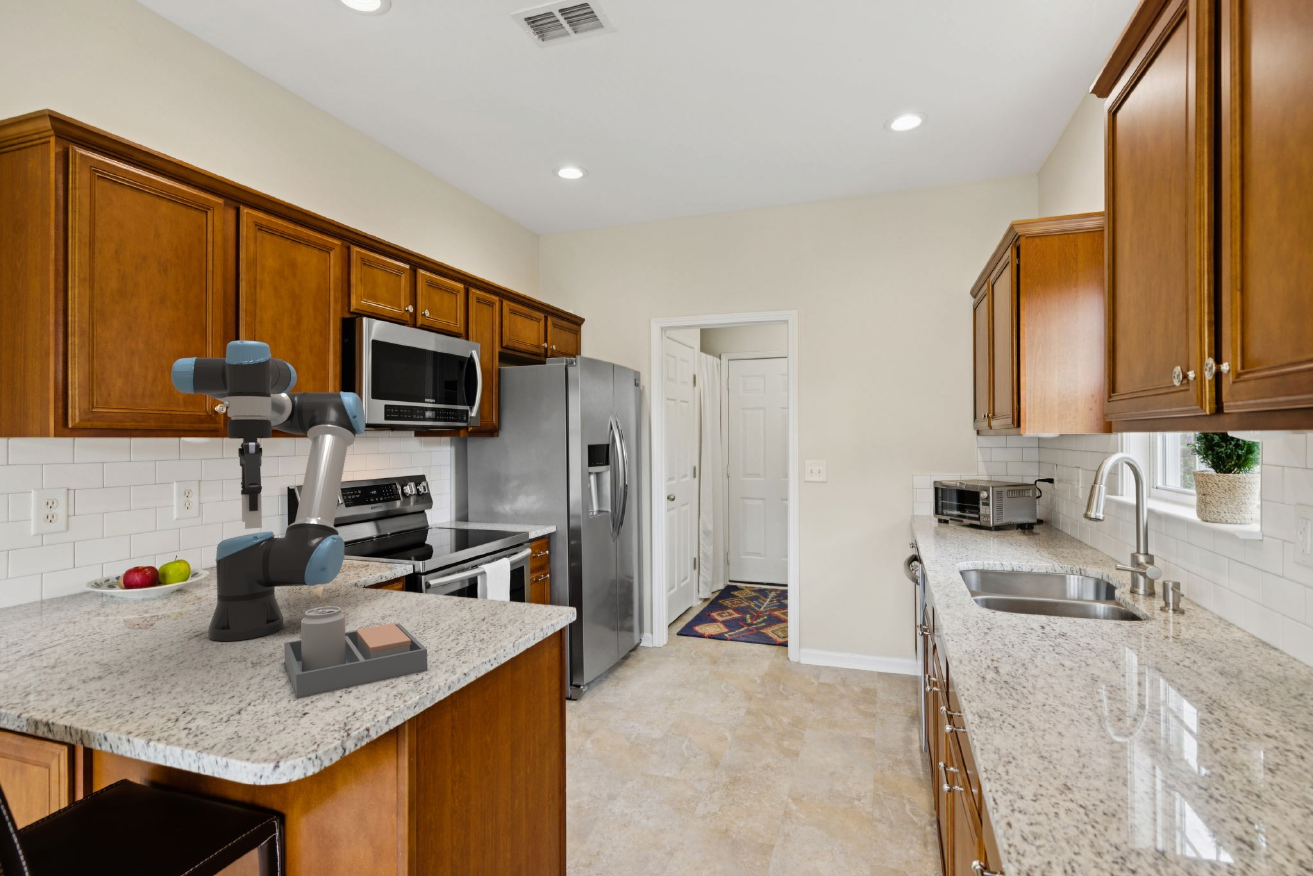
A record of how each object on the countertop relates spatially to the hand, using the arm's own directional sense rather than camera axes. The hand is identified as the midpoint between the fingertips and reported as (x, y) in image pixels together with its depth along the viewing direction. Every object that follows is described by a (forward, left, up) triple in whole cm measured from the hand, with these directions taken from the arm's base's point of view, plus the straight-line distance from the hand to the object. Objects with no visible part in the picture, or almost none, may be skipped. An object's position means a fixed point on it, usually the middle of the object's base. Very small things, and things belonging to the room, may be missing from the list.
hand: (251, 524), depth 130 cm
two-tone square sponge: (+15, +21, -28) cm, 38 cm away
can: (+15, +11, -28) cm, 33 cm away
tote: (+15, +16, -29) cm, 36 cm away
